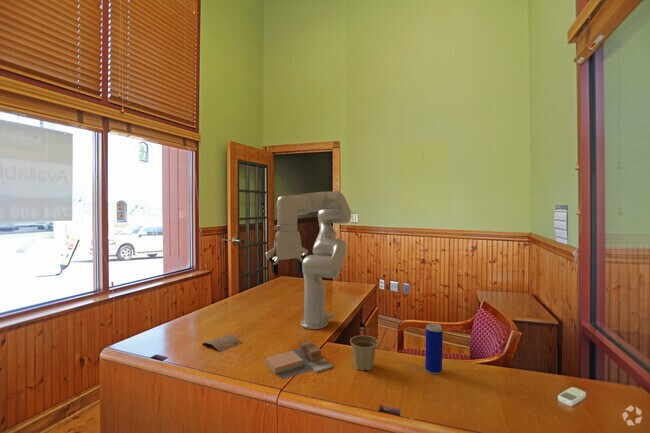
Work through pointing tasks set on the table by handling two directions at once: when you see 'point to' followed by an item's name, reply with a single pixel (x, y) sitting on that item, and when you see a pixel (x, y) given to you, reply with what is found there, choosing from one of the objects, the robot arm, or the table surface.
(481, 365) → the table surface
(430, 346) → the beverage can
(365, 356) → the flower pot
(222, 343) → the clay tablet
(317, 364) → the brown piece
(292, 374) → the mat
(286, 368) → the tile
